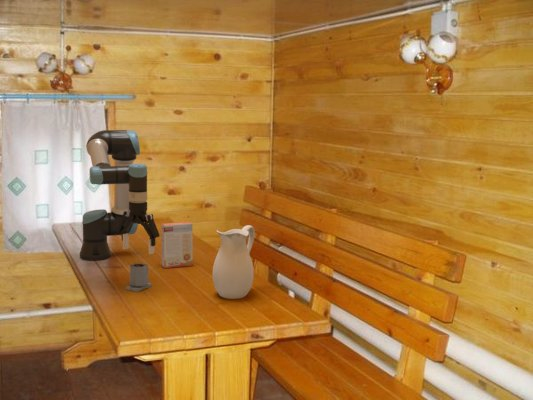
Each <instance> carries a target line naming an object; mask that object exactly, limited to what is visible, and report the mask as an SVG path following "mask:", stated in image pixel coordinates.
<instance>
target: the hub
mask: <svg viewBox="0 0 533 400" xmlns="http://www.w3.org/2000/svg"><path fill="white" fill-rule="evenodd" d="M148 283H149V264H148V263H144V262H136V263H135V262H134V263H131V264H129V285H131V286H136V287H137V286H145V285H148Z"/></svg>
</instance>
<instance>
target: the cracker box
mask: <svg viewBox="0 0 533 400" xmlns="http://www.w3.org/2000/svg"><path fill="white" fill-rule="evenodd" d="M160 227H161V228H160V229H161V230H160V231H161V233H160V234H161V236H160V237H161V267H163V268H164V269H171V268H172V269H173V268H183V267H193V264H194V263H193V261H194V260H193V259H194V255H193V252H194V251H193V250H194V249H193V245H194V244H193V223H192V222H190V221H180V222H167V223H166V222H163V223H161V225H160Z"/></svg>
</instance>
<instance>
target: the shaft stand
mask: <svg viewBox="0 0 533 400" xmlns="http://www.w3.org/2000/svg"><path fill="white" fill-rule="evenodd" d="M152 286H153V283H152V282H148V285H145V286H137V287H136V286H131V285H130V284H129V285H127V286H125V290H126V291H130V290H131V291H130V292H136V293H137V292H140V291H142V290H146V289H147V288H150V287H152Z"/></svg>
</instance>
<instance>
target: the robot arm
mask: <svg viewBox="0 0 533 400" xmlns="http://www.w3.org/2000/svg"><path fill="white" fill-rule="evenodd" d="M140 147H141V146H140V141H139V136H138V133H137V131H135V130H127V129H122V130H121V129H117V130H116V129H113V130H109V129H105V130H100V131H97V132H94V133H93V134H92V135H91V136H90V137H89V138H88V140H87V142H86V152H87V154H88V155H89V156H90V160H91V161H90V162H91V165H92V166H90V168H89V183H90V184H92V185H97V186H100V185H114V206H113V207H111V208H110V209H111V210H110V212H108V211H107V210H106V209H103V208H102V209H94V210H89V211H86V212H84V213H83V215H82V221H81V224H82V245H81V248H80V252H79V258H80V260H84V261H103V260H108V259H110V258H111V257H112V251H111V250H110V246H109V243H108V237H111V236H112V237H113V236H121V241H122V250H127V249H129V243H130V242H129V235H135V234H136V232H137V230H138V225H141V226H142V227H143V229H144V230H145V232H146V233H147V235H148V237H149V238H148V255H153V254H155V247H156V239H157V238H159V237H161V236H160V233H159V229H158V228H157V225H156V223H155V220H154V214H152V213H151V214H147V211H148V202H147V201H148V173H149V172H148V167H147V164H146V163H145V164H144V163H134V161H135V160H137V156H139V155H140V153H141V148H140ZM109 156H111V159H112V160H113V161H114V165H111V161H110V159H109Z"/></svg>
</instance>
